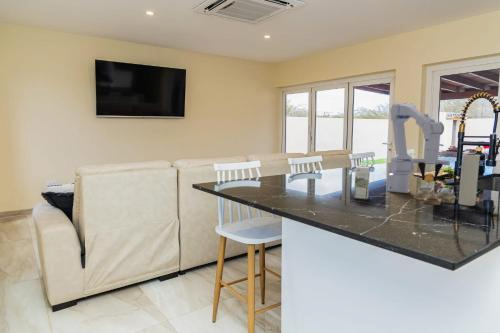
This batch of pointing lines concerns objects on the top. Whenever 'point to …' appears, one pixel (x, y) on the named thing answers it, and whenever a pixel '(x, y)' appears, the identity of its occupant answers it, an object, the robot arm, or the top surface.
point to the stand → (432, 200)
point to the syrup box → (361, 182)
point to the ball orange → (429, 177)
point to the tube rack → (435, 195)
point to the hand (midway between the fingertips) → (429, 180)
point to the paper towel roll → (469, 179)
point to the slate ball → (426, 188)
